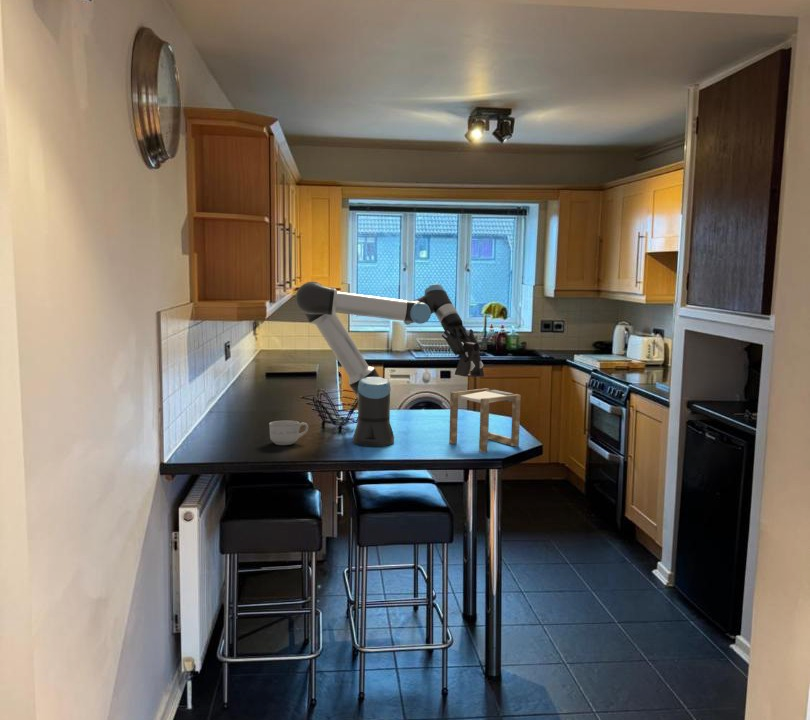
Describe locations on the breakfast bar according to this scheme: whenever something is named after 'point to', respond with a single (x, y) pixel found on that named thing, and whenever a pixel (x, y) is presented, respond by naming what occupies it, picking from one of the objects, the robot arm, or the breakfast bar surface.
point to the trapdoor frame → (486, 419)
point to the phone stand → (472, 356)
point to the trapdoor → (486, 395)
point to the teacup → (286, 432)
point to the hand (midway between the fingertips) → (476, 367)
